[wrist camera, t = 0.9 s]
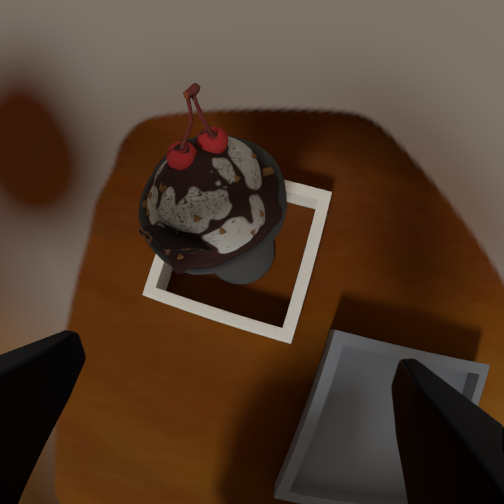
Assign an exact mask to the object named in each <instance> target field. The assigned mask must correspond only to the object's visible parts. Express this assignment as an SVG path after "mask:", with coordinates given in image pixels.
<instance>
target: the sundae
mask: <svg viewBox="0 0 504 504" xmlns="http://www.w3.org/2000/svg"><path fill="white" fill-rule="evenodd" d="M199 90H200V86H199V85H198V84H196V83H194V84H192V85H191V86H190V87H189V88H188V89H187V90H185V91H184V92H183V94H184V97H185V98H186V101H187V105H188V110H189V115H190V120H189V124H188V128H187V131H186V133H185V136H184V139H183V140H182V141H179V142H176V143H174V144H173V145H171V146H170V147H169V149H168V151H167V153H166V155H165V156H164V157H163V158H162V160H161V161H160V162H159V163H158V164H157V166H156V168H155V169H154V171H153V173H152V174H151V176H150V178H149V180H148V182H147V184H146V186H145V188H144V190H143V193H142V196H141V200H140V205H139V220H140V225H141V228H140V229H139V232H140V233H141V235H142V236H143V237H144V238H145V240H146V241H147V243H148V244H149V246H150V247H151V248H152V250H153V251H154V252H155V253H156V254H157V255H158V256H159V258H160V259H161V260H162V261H164V262H165V263H167V264H168V265H170V266H171V267H172V269H173V270H174V271H175V273H177V274H182V273H189V274H193V275H202V274H213V273H215V274H216V275H217V276H218V277H220V278H221V279H222V280H224V281H226V282H229V283H232V284H248V283H251V282H254V281H256V280H258V279H260V278H261V277H262V276H263V275H264V274H265V273H266V272H267V271H268V270H269V269H270V267H271V264H272V262H273V259H274V255H275V247H274V241H273V240H274V239H275V237H276V236H277V234H278V233H279V231H280V229H281V227H282V224H283V222H284V219H285V214H286V209H287V194H286V187H285V180H284V178H283V175H282V173H281V171H280V168H279V166H278V165H277V163H276V162H275V160H274V158H273V157H272V156H271V155H270V154H269V153H268V152H267V151H265V150H264V149H263V148H261V147H260V146H258V145H257V144H255V143H252V142H250V141H247V140H244V139H240V138H237V137H232V136H227V134H226V133H225V131H224V130H222V129H220V128H218V127H210V126H209V124H208V123H207V121H206V119H205V117H204V115H203V113H202V110H201V108H200V106H199V104H198V101H197V98H196V94H197V93H198V92H199ZM190 98H192V99H193V101H194V104H195V106H196V109H197V111H198V114H199V116H200V119H201V121H202V123H203V125H204V127H205V129H203V130H202V131H201V132H200V133H199V134H198V136H197V137H194V138H191V139H188V137H189V134H190V131H191V127H192V121H193V115H192V107H191V102H190Z"/></svg>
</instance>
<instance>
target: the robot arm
mask: <svg viewBox="0 0 504 504" xmlns="http://www.w3.org/2000/svg"><path fill="white" fill-rule="evenodd" d="M84 362H85V352H84V349H83V346H82V343H81V340H80V337H79V335H78V333H76V332H73V331H68V330H65V331H62V332H60V333H57V334H54V335H52V336H49V337H47V338H44V339H41V340H39V341H36V342H33V343H31V344H28V345H25V346H23V347H20V348H17V349H15V350H12V351H9V352H7V353H4V354H1V355H0V504H18V503H19V500H20V498H21V495H22V493H23V491H24V489H25V486H26V484H27V482H28V480H29V477H30V475H31V473H32V471H33V469H34V467H35V464H36V462H37V460H38V458H39V456H40V454H41V452H42V450H43V448H44V446H45V444H46V442H47V440H48V438H49V436H50V434H51V432H52V430H53V428H54V426H55V424H56V422H57V420H58V418H59V417H60V415H61V413H62V411H63V409H64V407H65V405H66V403H67V401H68V399H69V397H70V395H71V392H72V390H73V388H74V385H75V383H76V381H77V378H78V376H79V374H80V372H81V369H82V367H83V365H84ZM391 392H392V400H393V410H394V420H395V431H396V439H397V445H398V450H399V455H400V460H401V466H402V471H403V477H404V483H405V489H406V495H407V501H408V504H504V427H503V425H502V424H500V423H499V422H498V421H496V420H495V419H494V418H493V417H491V416H490V415H489V414H487V413H486V412H485V411H483V410H482V409H481V408H480V407H478V406H477V405H476V404H474V403H473V402H472V401H470V400H469V399H468V398H467V397H465V396H464V395H463V394H461V393H460V392H459V391H457V390H456V389H455V388H453V387H452V386H451V385H449V384H448V383H447V382H446V381H444V380H443V379H442V378H440V377H439V376H438V375H436V374H435V373H434V372H432V371H431V370H430V369H428V368H427V367H426V366H424V365H423V364H422V363H420V362H419V361H418V360H416V359H414V358H410V359H401V360H400V361H399V363H398V366H397V369H396V372H395V375H394V378H393V381H392V386H391Z"/></svg>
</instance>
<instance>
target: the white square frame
mask: <svg viewBox="0 0 504 504" xmlns="http://www.w3.org/2000/svg"><path fill="white" fill-rule="evenodd" d="M285 187H286V194H287V202H290V203H293V204H297V205H301V206H305V207H309V208H313V209H316V210H315V214H314V218H313V222H312V226H311V229H310V233H309V237H308V241H307V244H306V248H305V252H304V255H303V259H302V263H301V266H300V270H299V273H298V277H297V280H296V284H295V287H294V291H293V294H292V298H291V301H290V305H289V308H288V311H287V315H286V318H285V321H284V325H283V328H281V327H277V326H274V325H271V324H267V323H264V322H260V321H257V320H254V319H250V318H247V317H244V316H241V315H237V314H234V313H231V312H228V311H225V310H222V309H218V308H215V307H212V306H209V305H206V304H203V303H200V302H197V301H194V300H191V299H188V298H185V297H182V296H179V295H176V294H173V293H171V292H168V291H166V289H167V286H168V283H169V280H170V277H171V273H172V270H173V269H172V267H171V266H170V265H168V264H167V263H165V262H164V261H162V260H161V259H160V258H159V256H158V255H157V254H156V255H155V258H154V261H153V264H152V267H151V270H150V273H149V276H148V279H147V282H146V285H145V289H144V292H143V295H144V296H147V297H149V298H152V299H155V300H157V301H160V302H163V303H166V304H168V305H171V306H174V307H177V308H180V309H182V310H185V311H188V312H191V313H194V314H197V315H200V316H203V317H206V318H209V319H212V320H215V321H218V322H221V323H224V324H227V325H230V326H233V327H236V328H240V329H243V330H246V331H249V332H253V333H256V334H259V335H262V336H266V337H269V338H273V339H276V340H279V341H283V342H286V343H290V344H291V342H292V338H293V335H294V332H295V328H296V325H297V322H298V318H299V315H300V312H301V308H302V305H303V301H304V298H305V294H306V291H307V287H308V284H309V280H310V276H311V273H312V269H313V265H314V262H315V258H316V254H317V250H318V246H319V243H320V239H321V235H322V231H323V227H324V223H325V219H326V215H327V210H328V206H329V202H330V198H331V194H332V192H330V191H326V190H322V189H318V188H315V187H311V186H307V185H303V184H299V183H295V182H291V181H287V180H285Z"/></svg>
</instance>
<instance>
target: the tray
mask: <svg viewBox="0 0 504 504" xmlns="http://www.w3.org/2000/svg"><path fill="white" fill-rule="evenodd" d="M410 358H414V359H416V360H418V361H419V362H420V363H422V364H423V365H424V366H426V367H427V368H428V369H430V370H431V371H432V372H434V373H435V374H436V375H438V376H439V377H440V378H442V379H443V380H444V381H446V382H447V383H448V384H449V385H451V386H452V387H453V388H455V389H456V390H457V391H459V392H460V393H461V394H463V395H464V396H465V397H467V398H468V399H469V400H470V401H472V402H473V403H474V404H476V405H477V406H478V404H479V401H480V398H481V394H482V391H483V388H484V384H485V381H486V377H487V374H488V370H489V366H490V365H488V364H483V363H477V362H472V361H467V360H462V359H457V358H453V357H448V356H443V355H438V354H434V353H429V352H425V351H420V350H416V349H412V348H407V347H403V346H399V345H394V344H390V343H386V342H382V341H378V340H374V339H370V338H366V337H362V336H358V335H354V334H350V333H346V332H342V331H338V330H334V329H330V330H329V333H328V337H327V340H326V343H325V347H324V350H323V353H322V356H321V360H320V363H319V366H318V369H317V372H316V375H315V378H314V381H313V384H312V387H311V390H310V393H309V396H308V399H307V402H306V405H305V408H304V410H303V413H302V416H301V419H300V421H299V424H298V427H297V430H296V432H295V435H294V437H293V440H292V443H291V445H290V448H289V450H288V453H287V455H286V458H285V460H284V463H283V465H282V468H281V470H280V472H279V475H278V477H277V480H276V482H275V490H274V498H276V499H280V500H285V501H289V502H294V503H299V504H408V501H407V495H406V489H405V483H404V477H403V471H402V466H401V460H400V455H399V450H398V445H397V439H396V431H395V420H394V410H393V400H392V392H391V386H392V381H393V378H394V375H395V372H396V369H397V366H398V363H399V361H400V360H401V359H410Z"/></svg>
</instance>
